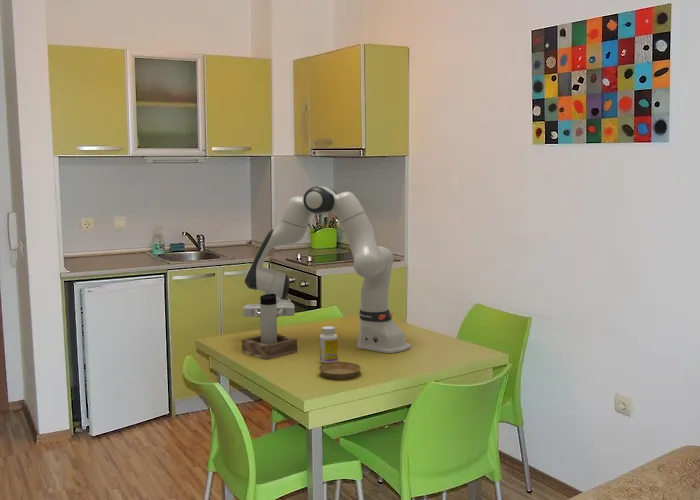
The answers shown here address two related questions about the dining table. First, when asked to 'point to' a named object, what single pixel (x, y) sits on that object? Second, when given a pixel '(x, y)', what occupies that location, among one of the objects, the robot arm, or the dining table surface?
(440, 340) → the dining table surface
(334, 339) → the supplement bottle
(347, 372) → the plant saucer
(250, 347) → the square wooden tray
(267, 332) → the travel mug
